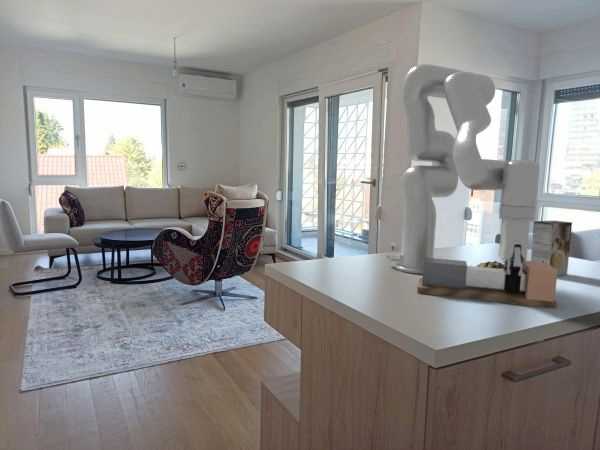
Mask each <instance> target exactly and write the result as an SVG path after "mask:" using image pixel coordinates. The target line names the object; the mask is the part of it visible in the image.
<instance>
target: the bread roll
mask: <svg viewBox="0 0 600 450" xmlns="http://www.w3.org/2000/svg"><path fill="white" fill-rule="evenodd" d="M475 267H486V268H497V269H504V263H501V262H498V261H496V260H494V261H492V262H491V261H487V262H481V263H478V264H476V265H475Z"/></svg>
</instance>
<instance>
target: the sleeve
mask: <svg viewBox="0 0 600 450" xmlns="http://www.w3.org/2000/svg"><path fill="white" fill-rule="evenodd" d="M467 266H468V265H467V260H458V259H457V260H456V259H448V258H446V259H445V258H437V257H434V258H425V259H424V265H423V274H422V278H423V281H422V286H431V287H441V288H450V289H459V290H465V286H466V273H467Z"/></svg>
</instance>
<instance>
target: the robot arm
mask: <svg viewBox="0 0 600 450" xmlns="http://www.w3.org/2000/svg"><path fill="white" fill-rule="evenodd" d="M495 85H496V84H495V83H494V80H493V79H492V78H491V77H489V76H488V75H486V74H481V73H475V72H472V71H471V72H470V71H465V70H460V69H456V68H452V67H451V68H450V67H445V66H441V65H434V64H430V63H429V64H428V63H426V64H424V63H423V64H419V65H416V66H413V67H412V68H411V69H410V70H409V71H408V72H407V74H406V76H405V77H404V80H403V83H402V87H401V101H402V106H403V111H404V122H405V123H404V127H405V129H404V131H405V148H406V149H405V150H406V156H407V157H408V158H409V159H410V160H412V161H416V162H427V163H428V162H429V163H431V165H421V164H420V165H413V166H411V167H409V168H408V169H407V170H405V171H404V173H403V175H402V179H401V188H402V194H403V195H402V197H403V222H402V239H401V252H400V253H397V254H393V253H392V254H391V253H387V254H386V260H387V261H390V262H396V264H395V269H396V270H398V271H401V272H404V273H410V274H419V275H420V274H421V275H423V265H424V259H425V258H435V257H434V255H435V240H436V227H437V225H436V224H437V208H436V205H435V203H434V200H433V198H448V197H449V196H452V195H453V194H454V193H455V192H456V191H457V188H458V184H459V180H460V182H461V183H462V185H464V187H466V188H467V189H470V190H473V191H501V192H500V205H499V213H498V215H499V217H498V219H499V220H502V224H501V230H500V231H501V232H500V240H499V247H498V248H499V249H498V257H499V259H500V261H502V262H503V264H504V269H507V275H506V276H505V288H504V290H505V291H506V292H514V293H519V292H520V284H521V270H522V264H523V263H525V262H526V261H527V256H528V247H529V235H530V234H529V233H530V222H534V221H536V212H537V200H538V190H539V180H540V179H539V178H540V163H538V162H537V161H535V160H522V159H520V160H519V159H517V160H516V159H515V160H513V159H512V160H502V159H499V160H498V159H488V158H486V159H485V158H482V156H481V154H480V152H479V149H478V145H477V135H479V134H480V133H482V132H483V131H485V130H486V129H487V128H489V126H490V124H491V123H492V117H491V115H490V112H489V109H488V107H487V106H488V105H489V104H490V103H491V102H492V101H493V100H494V97H495V94H496V86H495ZM428 97H431V98H433V97H434V98H437V99H438V98H440V99H445V100H446V103H447V106H448V110H449V112H450V114H451V115H450V116H451V117H452V120H453V123H454V126H455V129H456V135H455V137H454V136H453V135H452V134H451V133H450V132H448V131H445V130H437V129H436V124H435V123H436V121H435V112H434V109H433V108H434V107H433V106H432V104H431V103H430V101H429V100H428Z"/></svg>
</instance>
